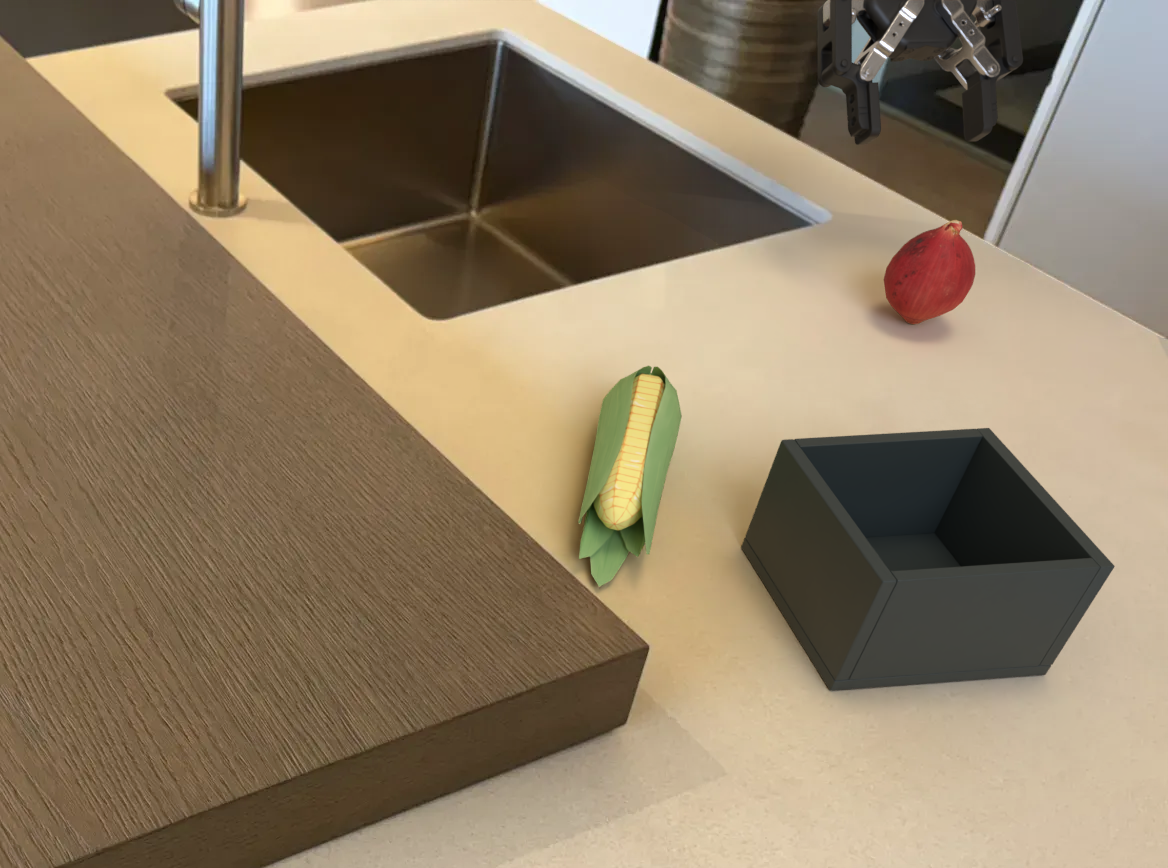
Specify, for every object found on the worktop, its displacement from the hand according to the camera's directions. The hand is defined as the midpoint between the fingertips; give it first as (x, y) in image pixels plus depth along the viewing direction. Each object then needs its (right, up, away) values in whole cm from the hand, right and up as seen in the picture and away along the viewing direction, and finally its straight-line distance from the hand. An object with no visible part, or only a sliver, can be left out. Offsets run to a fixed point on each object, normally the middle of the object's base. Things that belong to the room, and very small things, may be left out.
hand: (924, 139), depth 99 cm
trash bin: (-13, -36, -20) cm, 43 cm away
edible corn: (-26, -28, -13) cm, 40 cm away
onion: (+1, -13, +3) cm, 13 cm away
